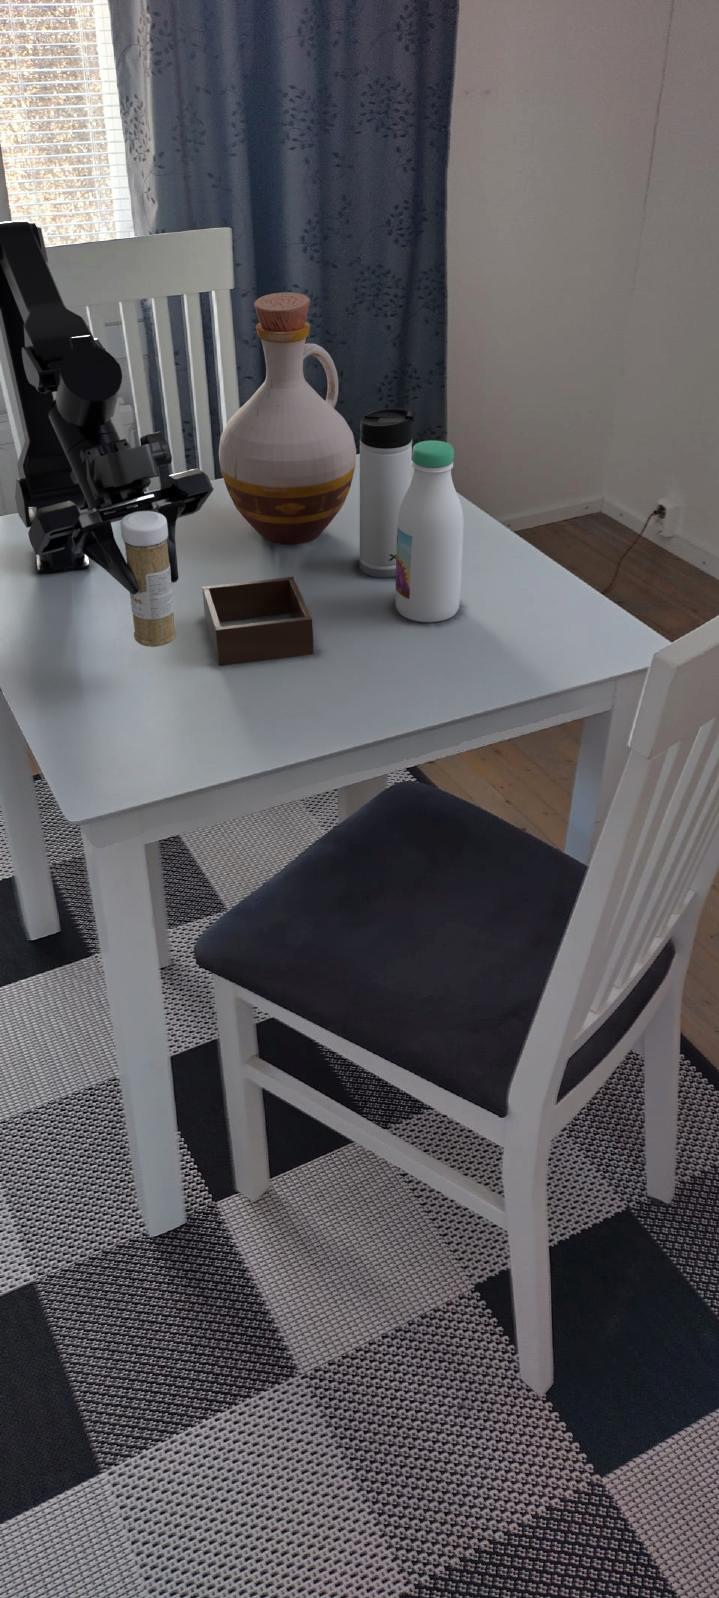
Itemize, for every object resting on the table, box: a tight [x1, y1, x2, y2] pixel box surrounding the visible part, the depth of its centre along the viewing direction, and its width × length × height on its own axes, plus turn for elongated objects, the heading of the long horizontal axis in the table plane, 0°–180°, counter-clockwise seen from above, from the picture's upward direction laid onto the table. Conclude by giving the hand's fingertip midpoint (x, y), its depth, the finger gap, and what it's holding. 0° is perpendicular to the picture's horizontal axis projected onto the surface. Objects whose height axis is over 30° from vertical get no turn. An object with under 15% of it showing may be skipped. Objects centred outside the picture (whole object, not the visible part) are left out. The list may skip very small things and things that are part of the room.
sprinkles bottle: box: [120, 511, 178, 648], centre depth 120 cm, size 5×5×13 cm
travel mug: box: [359, 408, 417, 579], centre depth 145 cm, size 6×7×20 cm
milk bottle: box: [394, 440, 464, 623], centre depth 136 cm, size 8×8×20 cm
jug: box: [218, 291, 357, 546], centre depth 151 cm, size 20×18×30 cm
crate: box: [201, 576, 314, 667], centre depth 135 cm, size 11×11×4 cm
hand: (155, 587), depth 120 cm, fingers closed on sprinkles bottle, 4 cm apart
